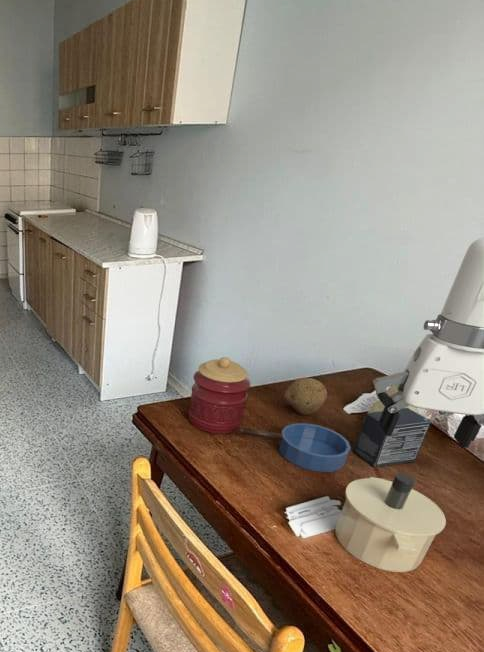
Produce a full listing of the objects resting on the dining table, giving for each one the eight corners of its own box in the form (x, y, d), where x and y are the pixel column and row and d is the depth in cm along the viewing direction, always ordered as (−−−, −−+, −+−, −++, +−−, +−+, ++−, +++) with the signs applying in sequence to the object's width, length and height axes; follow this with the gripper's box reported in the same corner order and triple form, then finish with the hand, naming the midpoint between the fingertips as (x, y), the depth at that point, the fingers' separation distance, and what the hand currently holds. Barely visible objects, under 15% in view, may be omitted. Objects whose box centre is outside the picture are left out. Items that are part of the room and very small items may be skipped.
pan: (338, 443, 110) (343, 428, 108) (350, 477, 99) (356, 462, 97) (275, 433, 114) (279, 419, 112) (280, 465, 103) (285, 450, 101)
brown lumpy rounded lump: (280, 417, 121) (289, 382, 116) (281, 402, 128) (289, 368, 123) (320, 425, 117) (331, 389, 112) (319, 408, 124) (329, 374, 119)
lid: (426, 492, 83) (440, 461, 80) (457, 549, 71) (476, 516, 68) (337, 476, 87) (347, 447, 84) (353, 527, 76) (366, 496, 73)
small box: (391, 445, 109) (407, 406, 104) (416, 462, 103) (434, 421, 98) (351, 450, 107) (365, 411, 102) (374, 468, 102) (390, 427, 97)
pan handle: (282, 438, 108) (284, 432, 107) (283, 442, 107) (284, 436, 106) (237, 431, 111) (239, 425, 110) (237, 434, 110) (239, 429, 109)
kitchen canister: (203, 438, 113) (215, 372, 105) (178, 411, 124) (187, 349, 116) (251, 431, 115) (267, 365, 107) (222, 405, 126) (234, 344, 118)
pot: (402, 517, 88) (419, 481, 84) (438, 594, 74) (460, 555, 70) (327, 502, 92) (339, 468, 88) (345, 573, 78) (361, 535, 74)
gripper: (403, 334, 64) (363, 439, 72) (567, 350, 59) (503, 462, 67) (387, 317, 70) (352, 415, 78) (534, 330, 65) (480, 434, 73)
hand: (422, 436), depth 72 cm, fingers open, 9 cm apart
